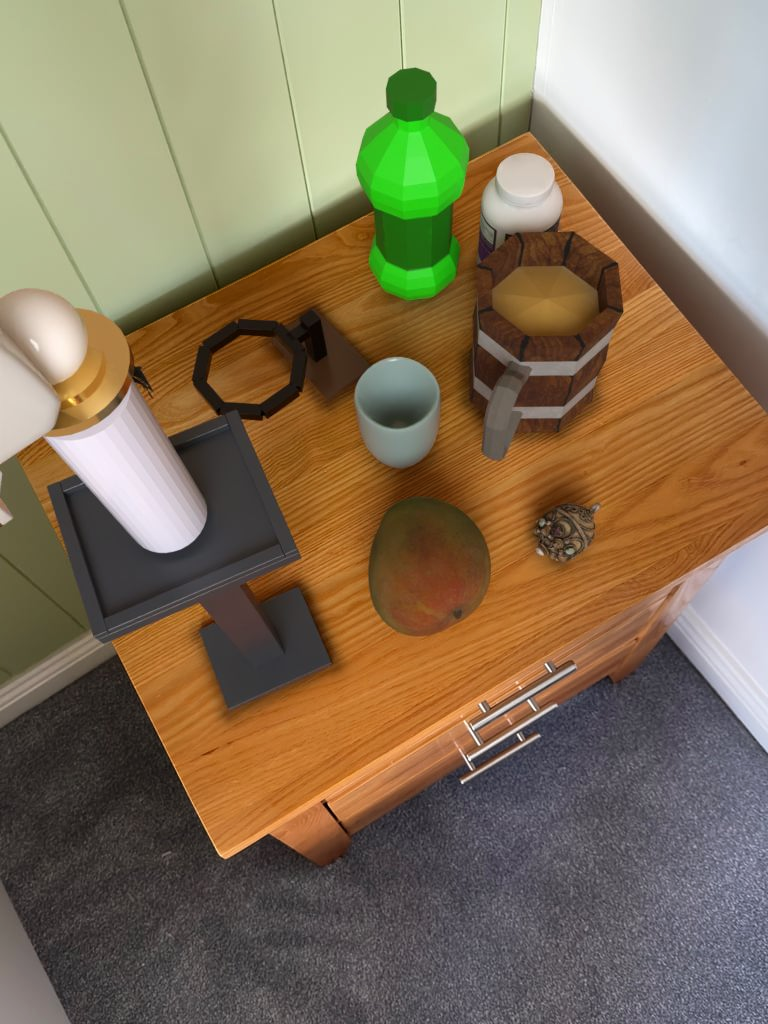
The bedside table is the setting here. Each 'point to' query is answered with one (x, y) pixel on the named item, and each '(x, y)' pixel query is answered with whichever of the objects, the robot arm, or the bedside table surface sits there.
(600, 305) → the mug
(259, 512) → the pedestal tray stand
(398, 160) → the plastic bottle
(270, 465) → the bedside table surface
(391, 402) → the cup
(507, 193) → the pill bottle
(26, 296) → the perfume bottle
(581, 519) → the pendant
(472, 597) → the fruit
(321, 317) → the ring stand
